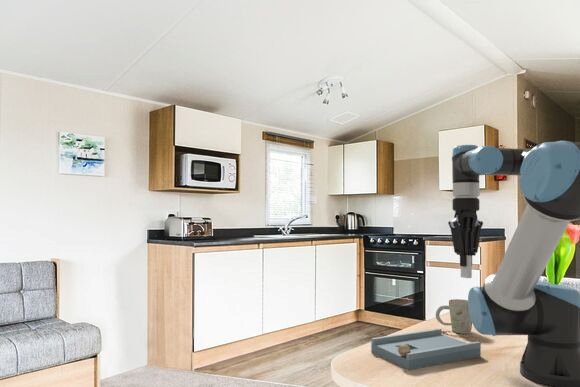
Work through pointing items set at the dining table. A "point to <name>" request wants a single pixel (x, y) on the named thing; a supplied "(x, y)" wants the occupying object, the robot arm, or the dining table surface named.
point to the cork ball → (404, 350)
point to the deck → (424, 349)
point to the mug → (457, 316)
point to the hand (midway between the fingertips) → (466, 277)
